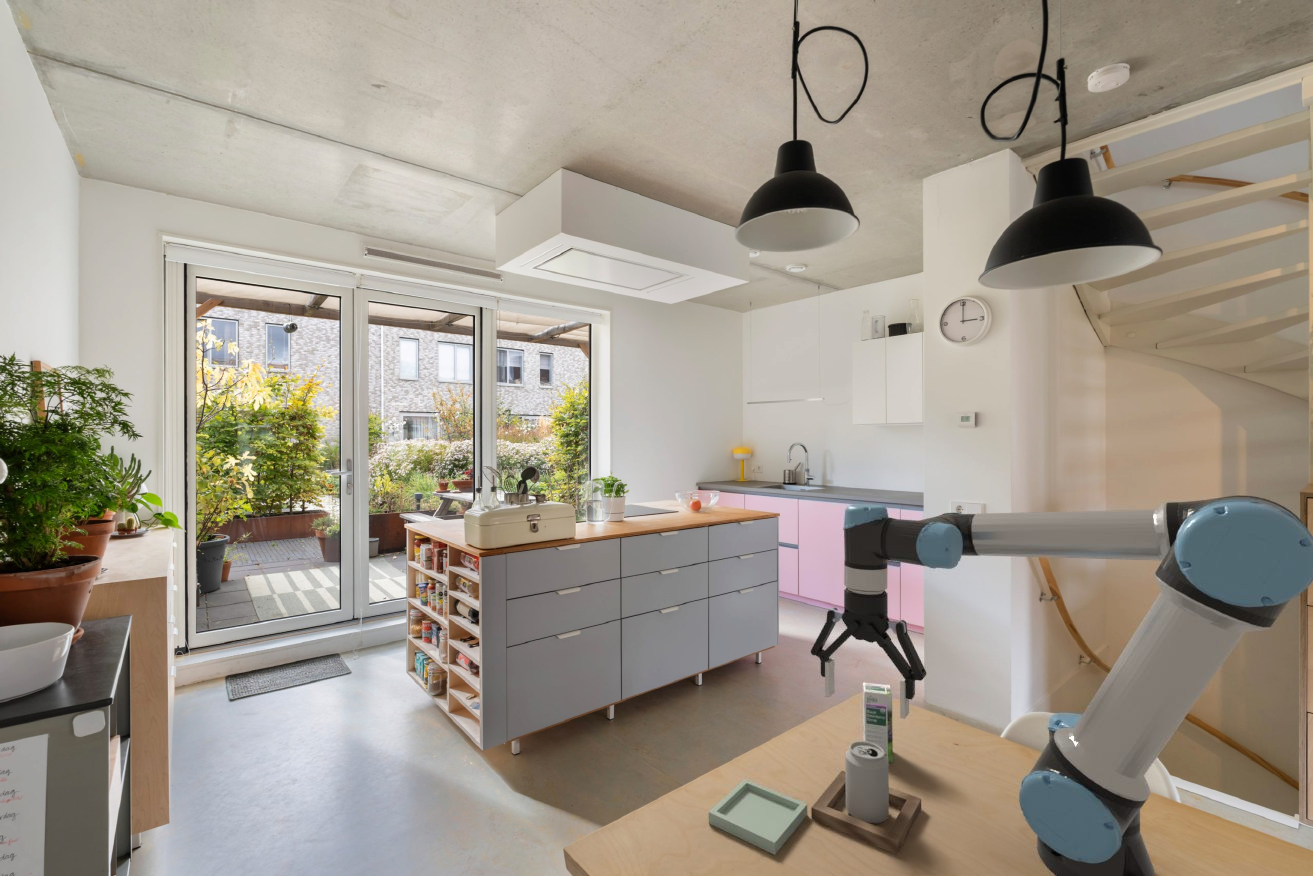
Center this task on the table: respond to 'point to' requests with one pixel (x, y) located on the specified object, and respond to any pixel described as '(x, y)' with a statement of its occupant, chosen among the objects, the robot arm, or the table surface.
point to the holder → (864, 830)
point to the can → (867, 782)
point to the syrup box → (878, 717)
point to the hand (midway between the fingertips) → (865, 705)
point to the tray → (758, 815)
